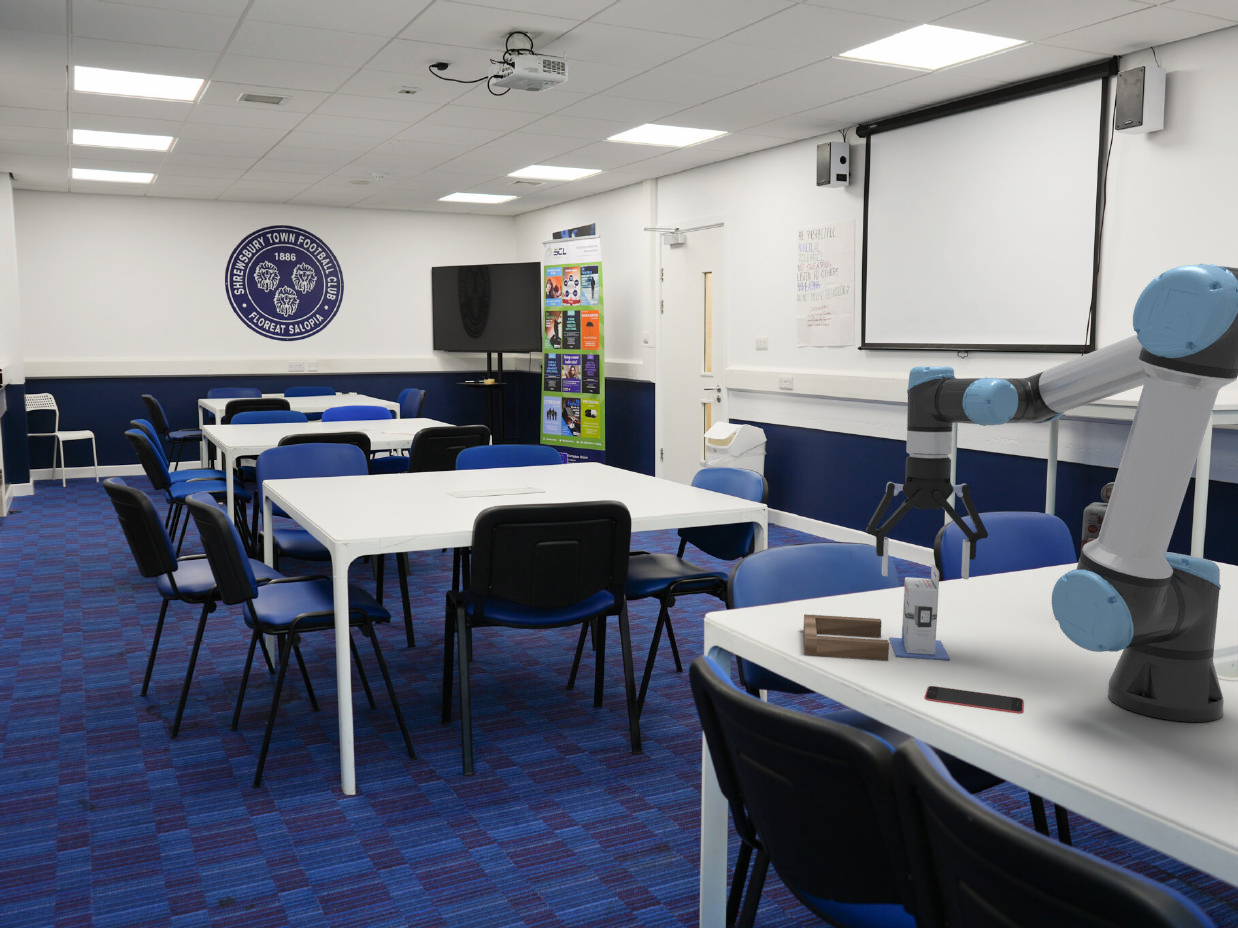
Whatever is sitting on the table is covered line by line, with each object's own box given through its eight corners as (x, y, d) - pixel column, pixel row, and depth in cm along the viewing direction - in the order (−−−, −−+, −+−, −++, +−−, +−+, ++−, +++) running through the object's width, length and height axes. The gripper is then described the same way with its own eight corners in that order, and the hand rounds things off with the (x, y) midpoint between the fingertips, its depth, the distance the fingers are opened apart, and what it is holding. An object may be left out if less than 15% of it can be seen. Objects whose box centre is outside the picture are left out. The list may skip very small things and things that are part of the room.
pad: (950, 660, 167) (950, 658, 167) (895, 656, 169) (895, 654, 169) (940, 641, 178) (940, 640, 178) (889, 638, 179) (889, 637, 179)
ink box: (900, 639, 178) (904, 560, 176) (929, 641, 177) (933, 561, 175) (906, 653, 170) (910, 570, 168) (935, 655, 169) (940, 571, 167)
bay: (888, 660, 167) (889, 643, 166) (804, 654, 169) (805, 638, 169) (879, 634, 182) (880, 618, 182) (803, 629, 185) (804, 614, 184)
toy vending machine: (1073, 627, 189) (1083, 484, 186) (1083, 615, 199) (1092, 478, 195) (1124, 635, 184) (1135, 488, 181) (1132, 622, 194) (1142, 482, 190)
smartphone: (928, 684, 154) (1024, 697, 149) (927, 688, 154) (1023, 701, 149) (923, 698, 148) (1023, 712, 142) (923, 702, 148) (1023, 716, 142)
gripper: (999, 455, 171) (994, 574, 173) (853, 452, 175) (850, 569, 177) (1009, 458, 164) (1003, 583, 166) (856, 456, 168) (852, 577, 170)
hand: (924, 576), depth 171 cm, fingers open, 13 cm apart
